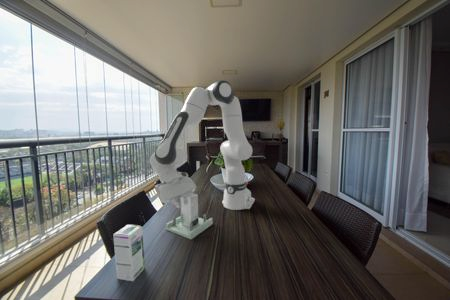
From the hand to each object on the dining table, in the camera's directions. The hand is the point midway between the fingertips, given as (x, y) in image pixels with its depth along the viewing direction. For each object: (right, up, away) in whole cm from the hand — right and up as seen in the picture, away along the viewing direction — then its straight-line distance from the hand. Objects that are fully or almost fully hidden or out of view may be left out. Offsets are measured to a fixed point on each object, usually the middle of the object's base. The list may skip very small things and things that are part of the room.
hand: (187, 203), depth 86 cm
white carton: (+1, -10, 0) cm, 10 cm away
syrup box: (-12, -14, -28) cm, 33 cm away
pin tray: (+1, -11, 0) cm, 11 cm away
